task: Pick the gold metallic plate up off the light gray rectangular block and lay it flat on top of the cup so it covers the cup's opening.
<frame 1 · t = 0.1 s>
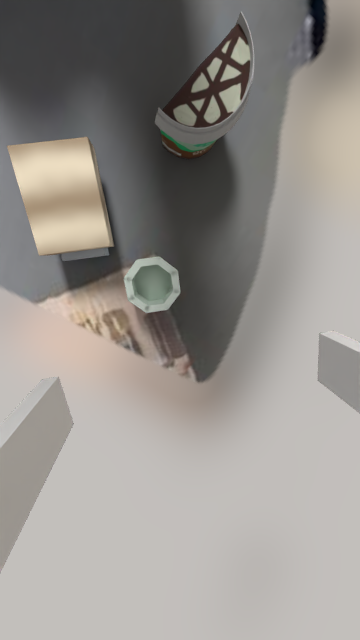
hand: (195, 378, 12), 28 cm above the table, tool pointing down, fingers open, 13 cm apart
food container: (200, 138, 33), on the table
light gray rectangular block: (78, 208, 34), on the table
cup: (153, 281, 38), on the table
gold metallic plate: (70, 204, 31), point 3 cm above the table, touching light gray rectangular block
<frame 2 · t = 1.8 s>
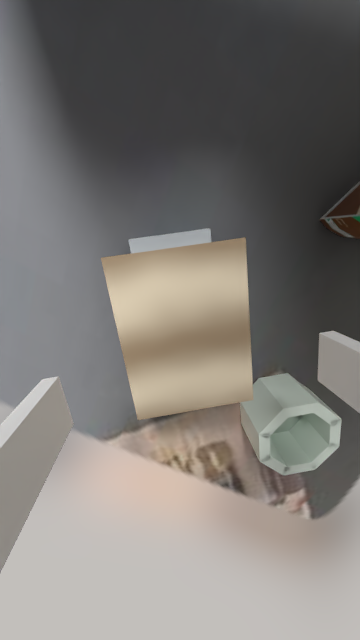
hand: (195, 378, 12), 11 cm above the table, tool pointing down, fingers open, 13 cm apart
light gray rectangular block: (179, 314, 22), on the table
cup: (273, 405, 26), on the table
gold metallic plate: (182, 324, 19), point 3 cm above the table, touching light gray rectangular block
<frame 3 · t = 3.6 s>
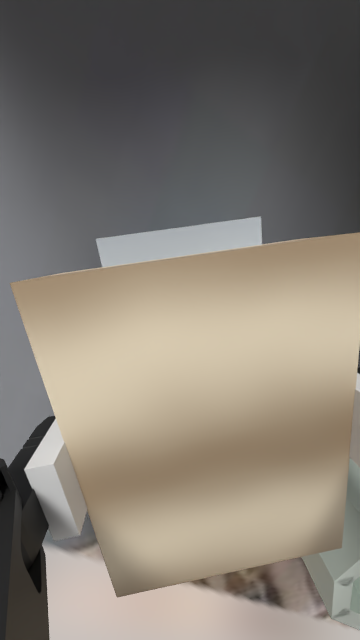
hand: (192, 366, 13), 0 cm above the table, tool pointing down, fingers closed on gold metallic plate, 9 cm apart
light gray rectangular block: (191, 364, 13), on the table
cup: (332, 491, 17), on the table
gold metallic plate: (201, 395, 10), point 3 cm above the table, touching gripper, light gray rectangular block
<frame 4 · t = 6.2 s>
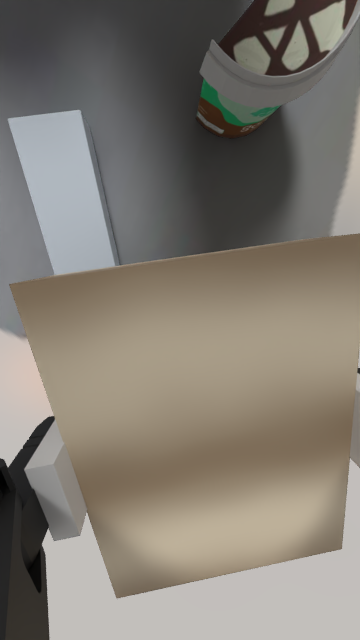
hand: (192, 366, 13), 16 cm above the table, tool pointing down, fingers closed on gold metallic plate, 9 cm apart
food container: (249, 108, 24), on the table
light gray rectangular block: (78, 210, 24), on the table
gold metallic plate: (201, 396, 10), point 19 cm above the table, touching gripper
when the fingers open (5 cm above the table, at t = 8.7 s): gold metallic plate drops 2 cm, resting on cup.
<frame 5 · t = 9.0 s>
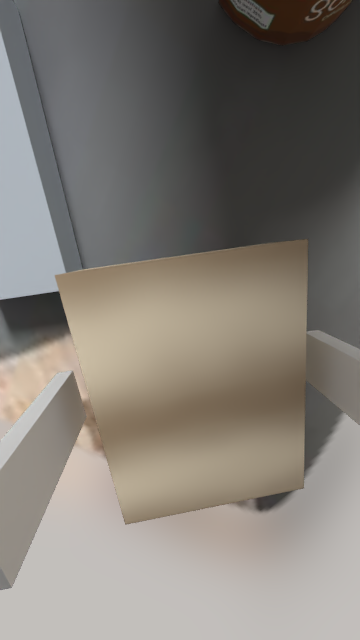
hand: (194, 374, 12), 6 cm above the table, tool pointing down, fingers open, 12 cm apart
light gray rectangular block: (5, 171, 14), on the table
gold metallic plate: (192, 369, 13), point 5 cm above the table, touching cup
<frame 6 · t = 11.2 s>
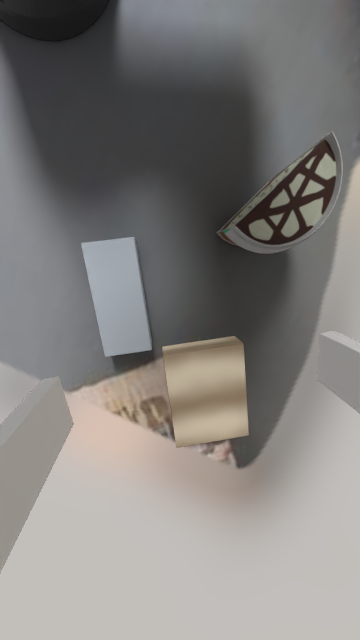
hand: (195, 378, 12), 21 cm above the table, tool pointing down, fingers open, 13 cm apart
food container: (256, 225, 31), on the table
light gray rectangular block: (122, 296, 31), on the table
gold metallic plate: (203, 385, 30), point 5 cm above the table, touching cup
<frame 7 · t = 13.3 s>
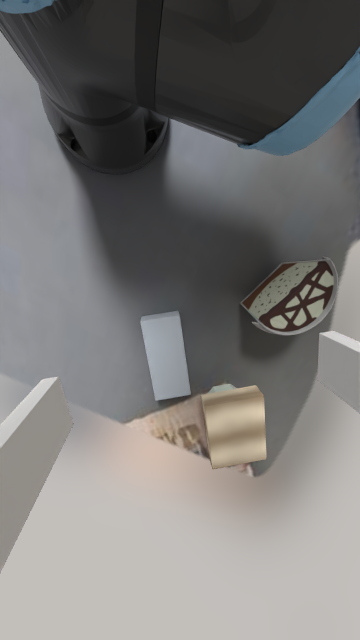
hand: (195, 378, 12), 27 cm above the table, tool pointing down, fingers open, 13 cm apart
food container: (271, 295, 39), on the table
light gray rectangular block: (166, 352, 40), on the table
gold metallic plate: (231, 420, 39), point 5 cm above the table, touching cup
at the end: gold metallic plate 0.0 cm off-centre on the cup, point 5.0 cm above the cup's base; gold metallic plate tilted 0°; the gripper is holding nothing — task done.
